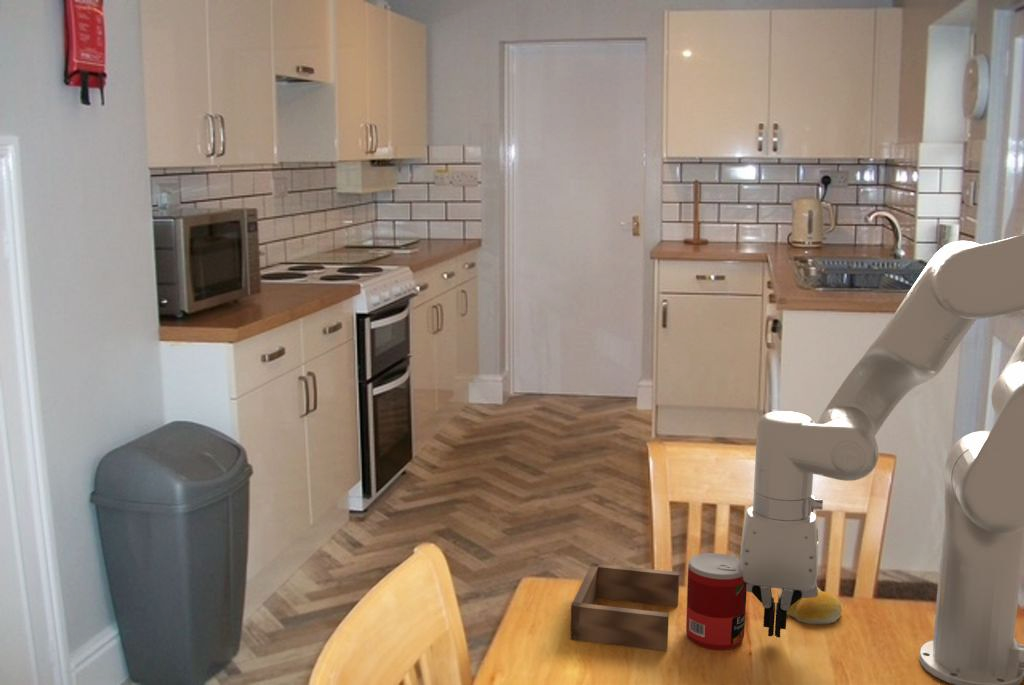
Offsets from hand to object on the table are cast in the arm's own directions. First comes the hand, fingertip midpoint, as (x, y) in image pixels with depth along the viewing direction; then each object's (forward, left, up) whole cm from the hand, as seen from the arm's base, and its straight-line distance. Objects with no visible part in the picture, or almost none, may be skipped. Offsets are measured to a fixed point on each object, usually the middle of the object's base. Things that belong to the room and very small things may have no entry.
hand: (774, 632), depth 144 cm
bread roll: (-5, -12, -2) cm, 13 cm away
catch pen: (+20, -2, -2) cm, 20 cm away
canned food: (+8, 0, -2) cm, 8 cm away
